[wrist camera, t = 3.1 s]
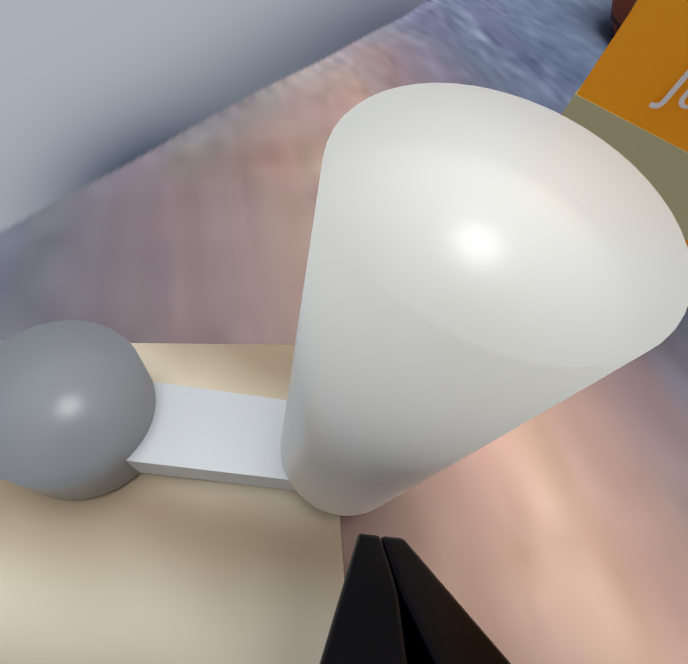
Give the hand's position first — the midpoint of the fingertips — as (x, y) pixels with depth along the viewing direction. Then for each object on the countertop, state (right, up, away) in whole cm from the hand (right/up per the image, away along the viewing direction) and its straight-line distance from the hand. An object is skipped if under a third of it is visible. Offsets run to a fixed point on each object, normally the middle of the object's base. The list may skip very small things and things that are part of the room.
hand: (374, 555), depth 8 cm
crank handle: (-8, +1, +6) cm, 10 cm away
